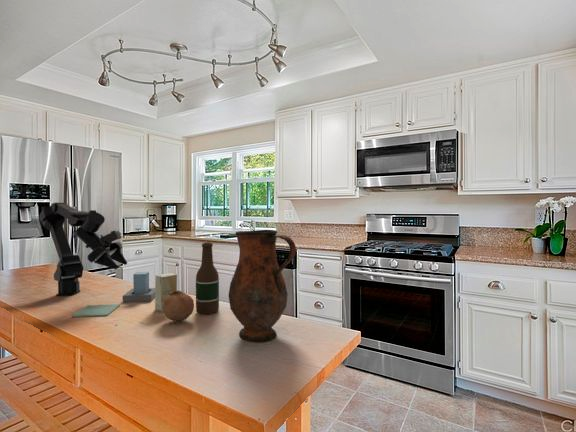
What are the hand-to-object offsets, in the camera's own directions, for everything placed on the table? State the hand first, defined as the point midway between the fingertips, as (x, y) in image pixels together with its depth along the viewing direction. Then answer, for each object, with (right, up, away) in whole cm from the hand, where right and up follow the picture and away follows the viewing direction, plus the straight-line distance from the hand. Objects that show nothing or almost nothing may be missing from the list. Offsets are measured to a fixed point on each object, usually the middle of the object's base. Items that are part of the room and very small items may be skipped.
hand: (122, 266), depth 126 cm
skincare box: (+22, -14, -12) cm, 28 cm away
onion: (+31, -14, -25) cm, 42 cm away
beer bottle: (+37, -14, -15) cm, 42 cm away
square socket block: (+7, -13, +1) cm, 15 cm away
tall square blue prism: (+7, -13, +1) cm, 15 cm away
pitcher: (+59, -14, -36) cm, 70 cm away
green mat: (-1, -13, -15) cm, 20 cm away
